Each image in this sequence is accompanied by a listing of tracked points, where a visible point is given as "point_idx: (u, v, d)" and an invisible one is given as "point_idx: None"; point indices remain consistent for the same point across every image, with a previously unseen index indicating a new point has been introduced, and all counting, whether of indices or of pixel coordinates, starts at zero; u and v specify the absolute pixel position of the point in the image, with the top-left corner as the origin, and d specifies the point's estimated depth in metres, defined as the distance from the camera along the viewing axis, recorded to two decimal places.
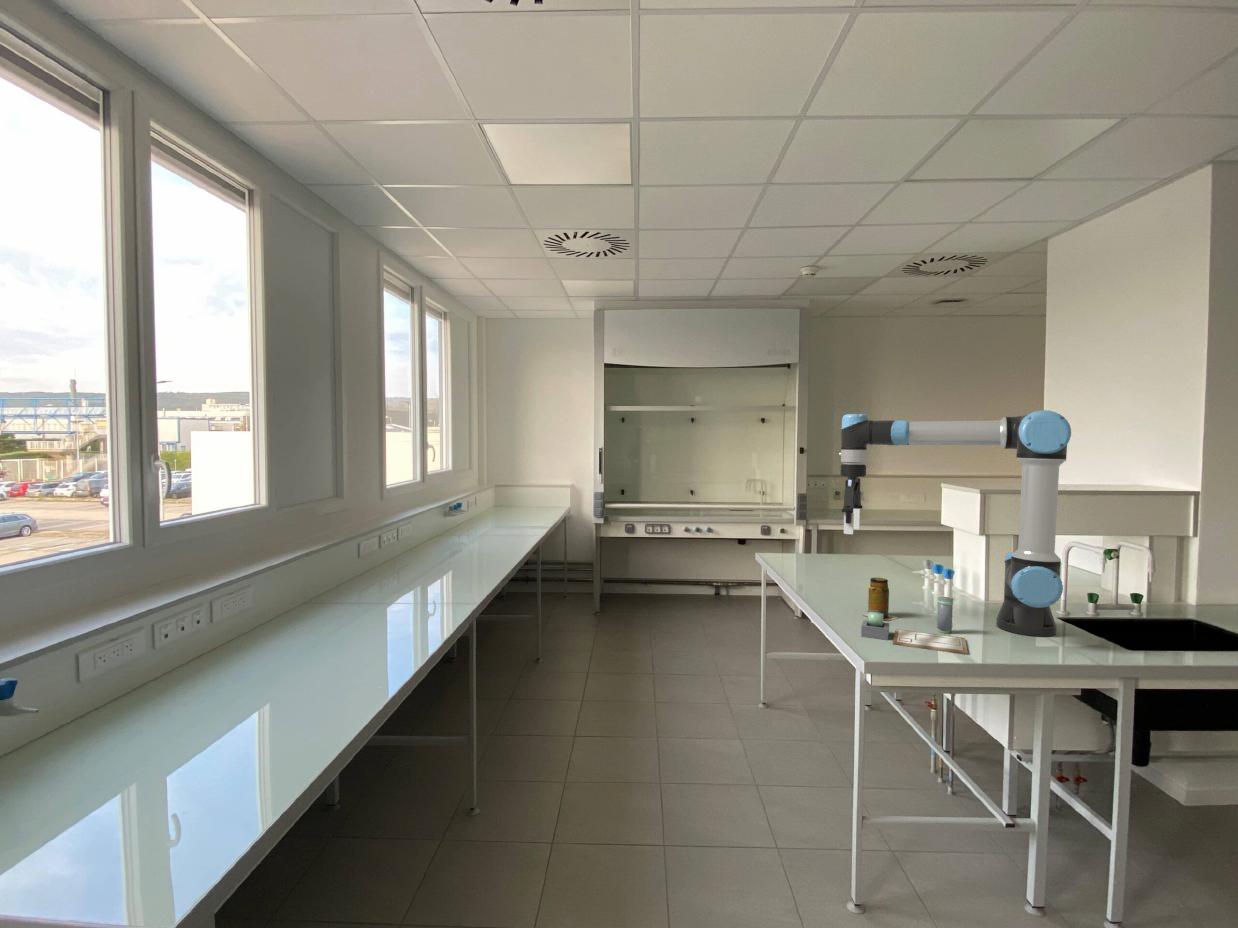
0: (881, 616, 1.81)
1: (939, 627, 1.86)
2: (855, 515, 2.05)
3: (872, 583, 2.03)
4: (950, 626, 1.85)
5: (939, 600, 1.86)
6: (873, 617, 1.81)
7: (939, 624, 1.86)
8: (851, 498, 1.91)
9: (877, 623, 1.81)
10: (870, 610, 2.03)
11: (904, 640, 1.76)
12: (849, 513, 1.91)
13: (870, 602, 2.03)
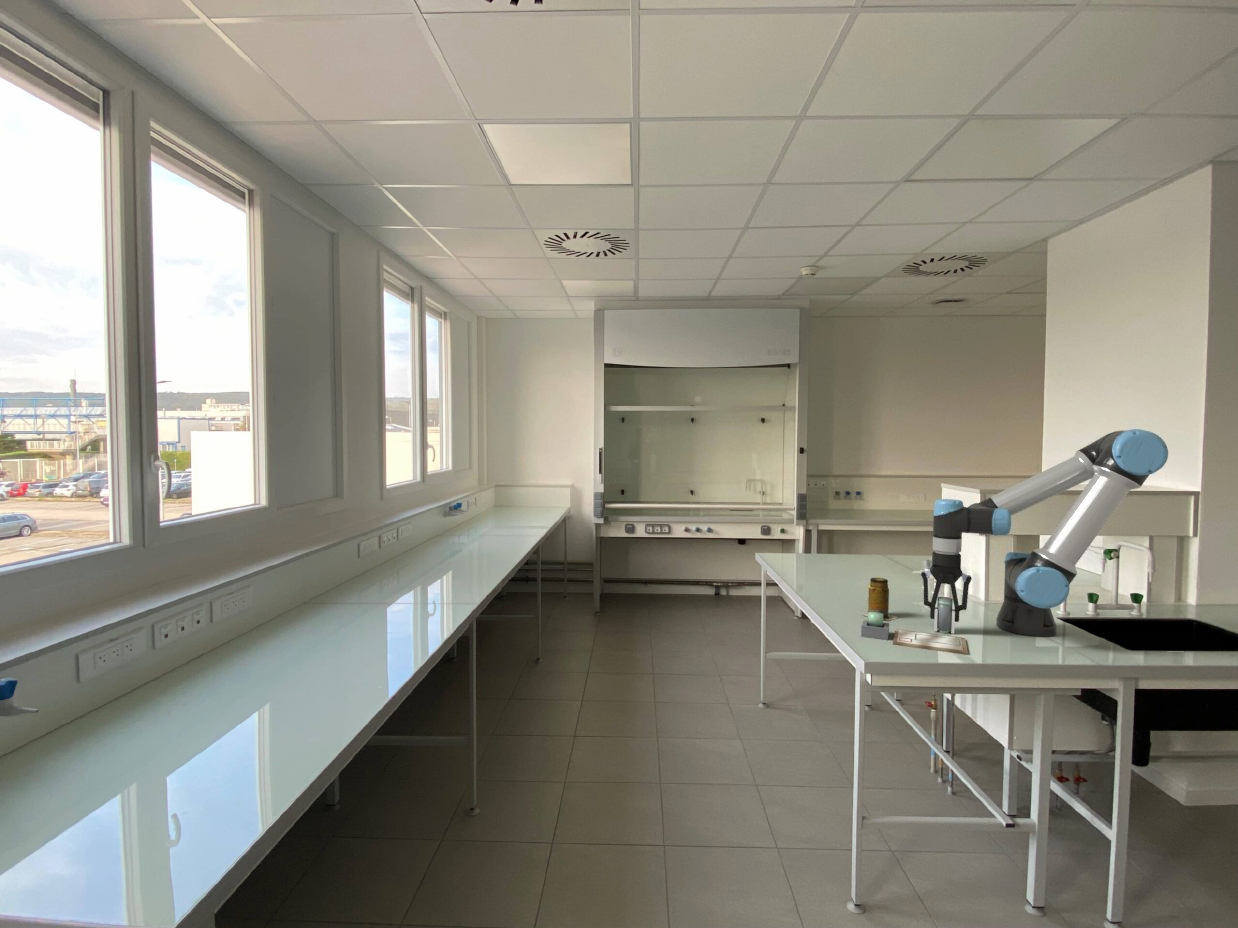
0: (881, 616, 1.81)
1: (939, 627, 1.86)
2: None
3: (872, 583, 2.03)
4: (950, 626, 1.85)
5: (939, 600, 1.86)
6: (873, 617, 1.81)
7: (939, 624, 1.86)
8: None
9: (877, 623, 1.81)
10: (870, 610, 2.03)
11: (904, 640, 1.76)
12: (930, 608, 1.88)
13: (870, 602, 2.03)
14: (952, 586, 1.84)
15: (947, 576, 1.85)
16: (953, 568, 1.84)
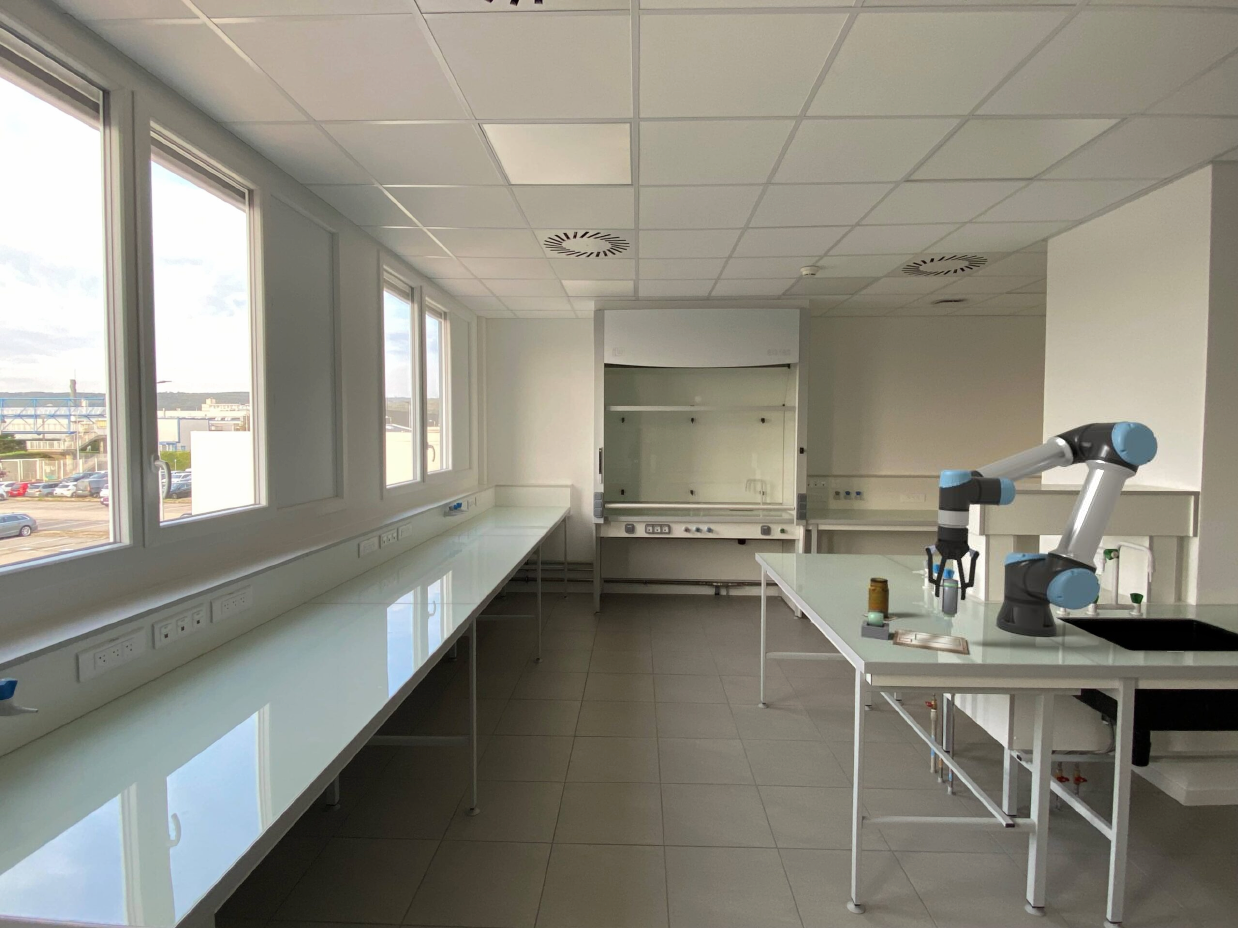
0: (881, 616, 1.81)
1: (943, 611, 1.75)
2: None
3: (872, 583, 2.02)
4: (955, 610, 1.74)
5: (944, 582, 1.75)
6: (873, 617, 1.81)
7: (943, 607, 1.75)
8: (928, 568, 1.77)
9: (877, 623, 1.81)
10: (870, 610, 2.03)
11: (904, 640, 1.76)
12: None
13: (870, 602, 2.03)
14: (958, 562, 1.73)
15: (953, 551, 1.74)
16: (960, 543, 1.73)
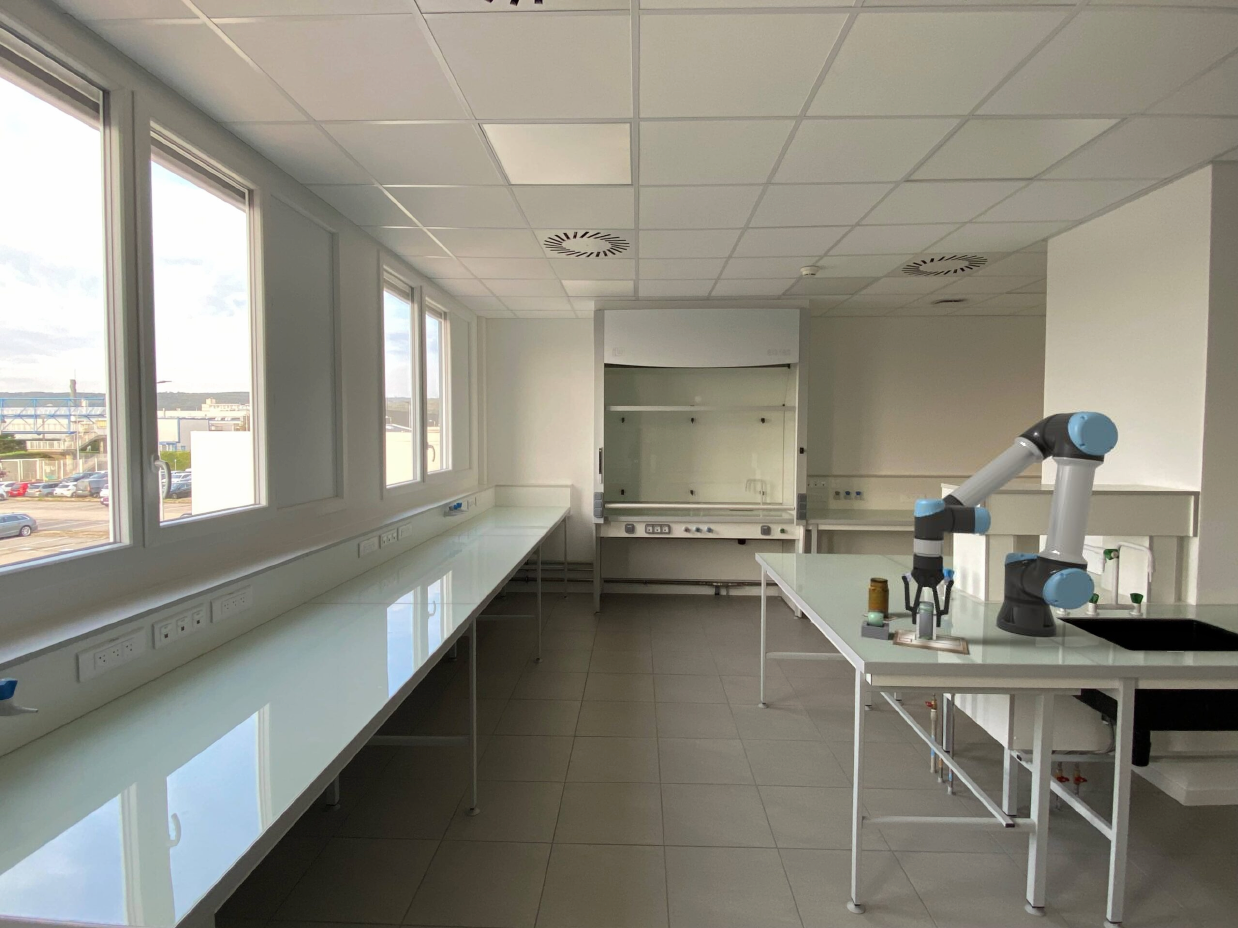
0: (881, 616, 1.81)
1: (919, 633, 1.78)
2: None
3: (872, 583, 2.03)
4: (931, 632, 1.77)
5: (919, 605, 1.78)
6: (873, 617, 1.81)
7: (919, 630, 1.78)
8: None
9: (877, 623, 1.81)
10: (870, 610, 2.03)
11: (904, 640, 1.76)
12: None
13: (870, 602, 2.03)
14: (934, 590, 1.76)
15: (929, 579, 1.76)
16: (935, 571, 1.76)
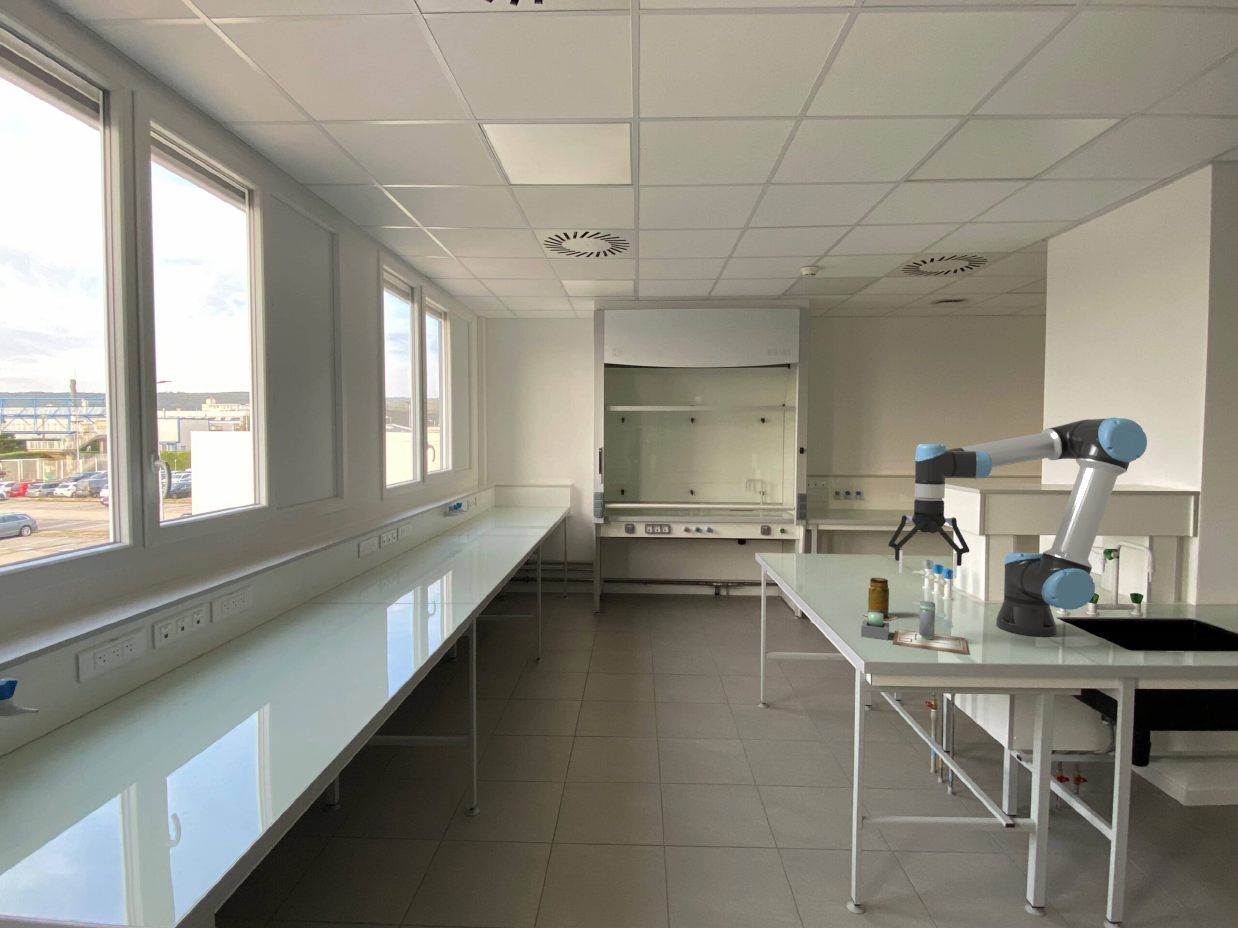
0: (881, 616, 1.81)
1: (921, 633, 1.78)
2: (953, 561, 1.75)
3: (872, 583, 2.02)
4: (932, 632, 1.76)
5: (921, 605, 1.78)
6: (873, 617, 1.81)
7: (921, 630, 1.78)
8: None
9: (877, 623, 1.81)
10: (870, 610, 2.03)
11: (904, 640, 1.76)
12: None
13: (870, 602, 2.03)
14: (941, 532, 1.74)
15: (931, 525, 1.76)
16: (934, 518, 1.76)
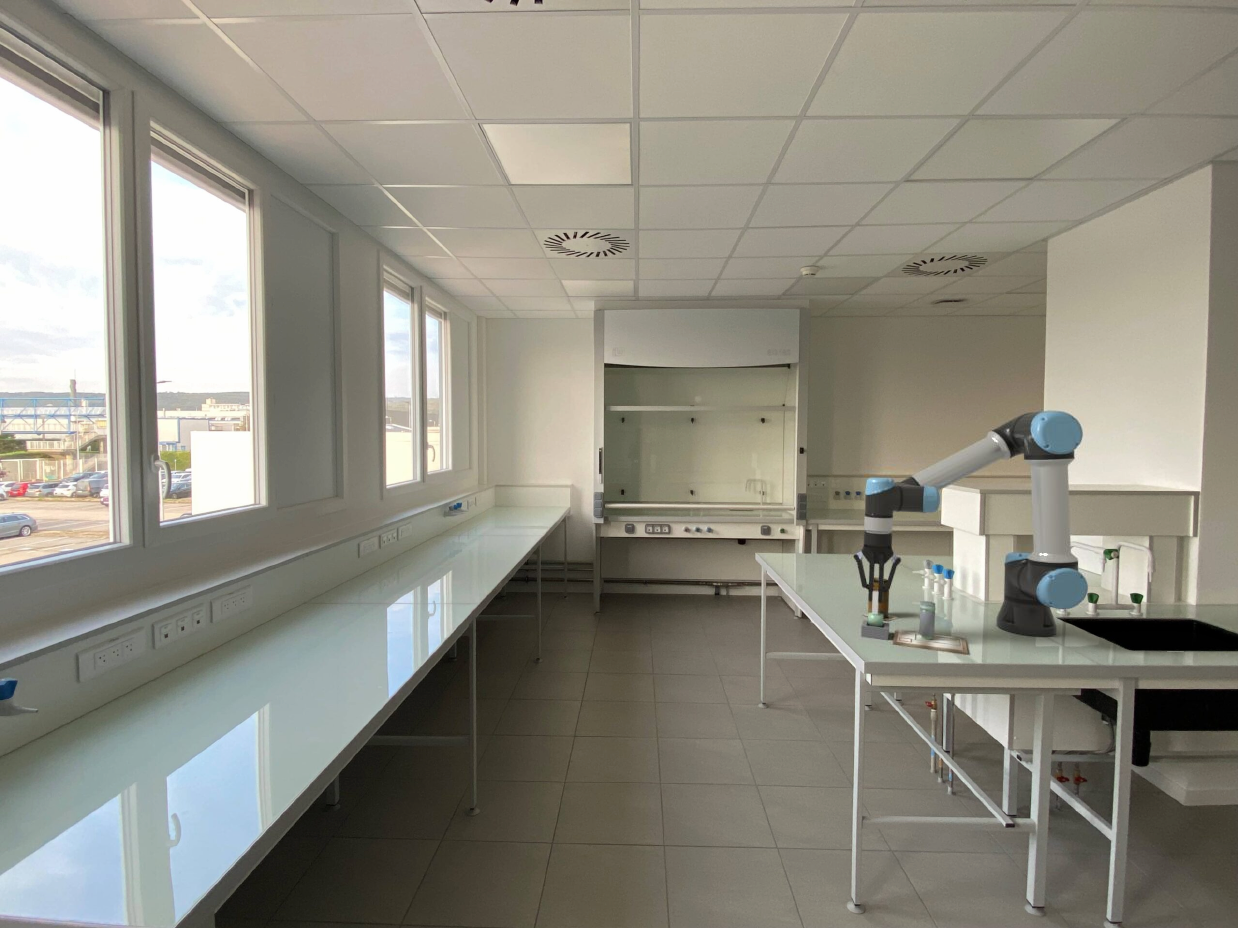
0: (881, 617, 1.81)
1: (921, 633, 1.78)
2: None
3: None
4: (932, 632, 1.76)
5: (921, 605, 1.78)
6: (873, 618, 1.81)
7: (921, 630, 1.78)
8: None
9: (877, 624, 1.81)
10: (870, 610, 2.03)
11: (904, 640, 1.76)
12: (868, 590, 1.83)
13: (870, 602, 2.03)
14: (880, 566, 1.80)
15: (878, 555, 1.81)
16: (885, 547, 1.80)
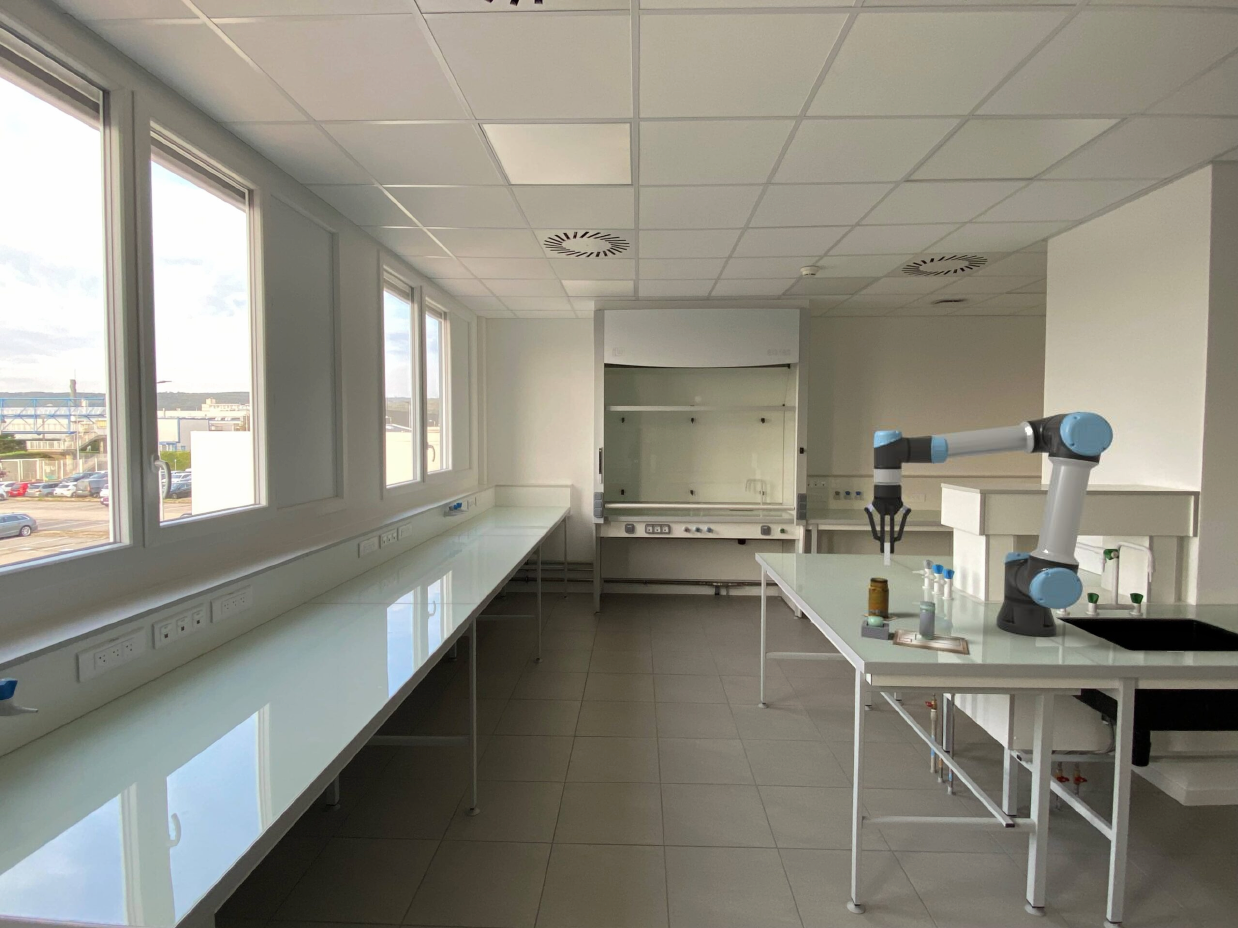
0: (881, 620, 1.81)
1: (921, 633, 1.78)
2: None
3: (872, 583, 2.02)
4: (932, 632, 1.76)
5: (921, 605, 1.78)
6: (873, 621, 1.81)
7: (921, 630, 1.78)
8: None
9: None
10: (870, 610, 2.03)
11: (904, 640, 1.76)
12: None
13: (870, 602, 2.03)
14: (891, 517, 1.83)
15: (888, 507, 1.84)
16: (895, 498, 1.83)
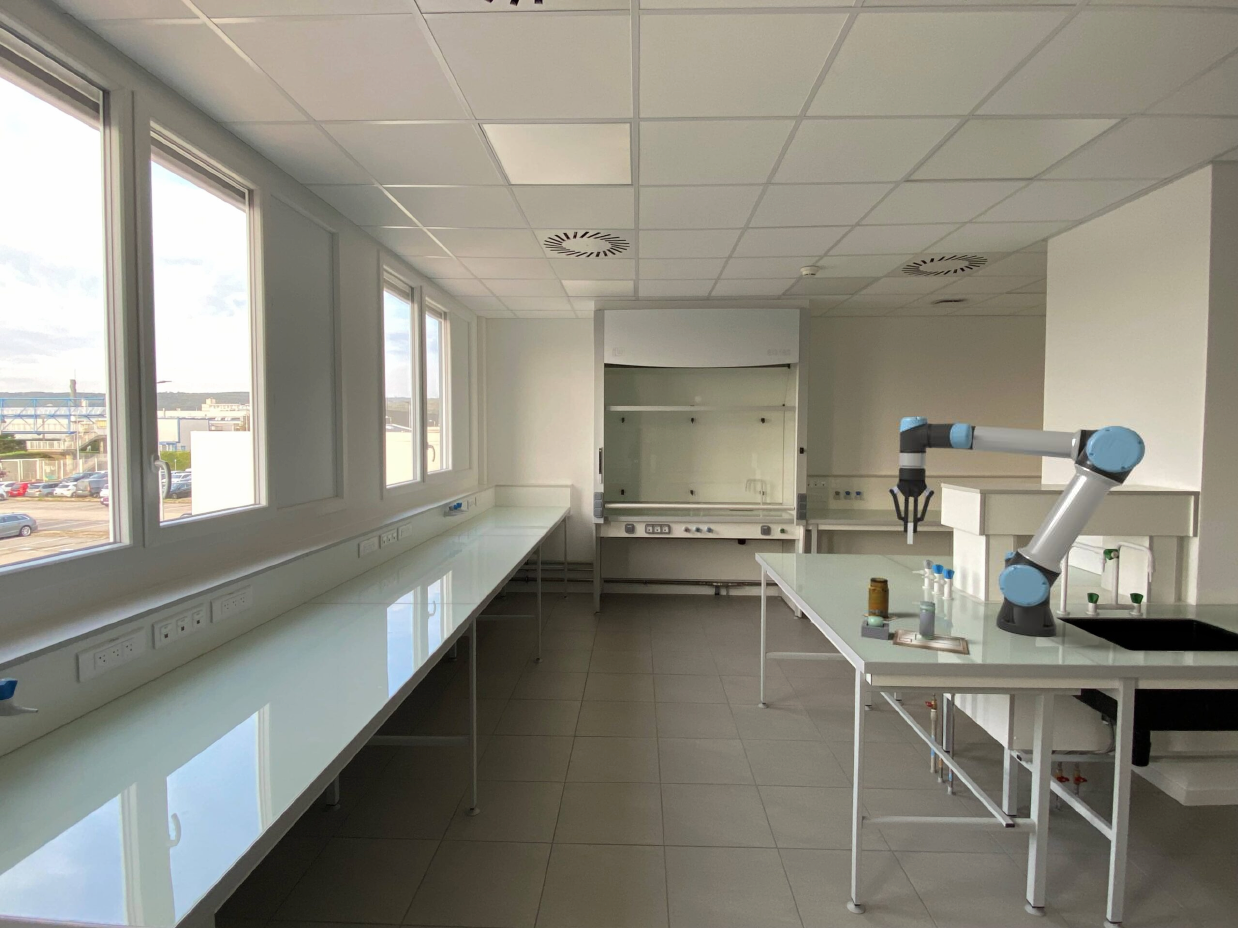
0: (881, 620, 1.81)
1: (921, 633, 1.78)
2: None
3: (872, 583, 2.03)
4: (932, 632, 1.76)
5: (921, 605, 1.78)
6: (873, 621, 1.81)
7: (921, 630, 1.78)
8: (895, 508, 1.98)
9: None
10: (870, 610, 2.03)
11: (904, 640, 1.76)
12: None
13: (870, 602, 2.03)
14: (915, 499, 1.94)
15: (912, 489, 1.95)
16: (919, 481, 1.94)
